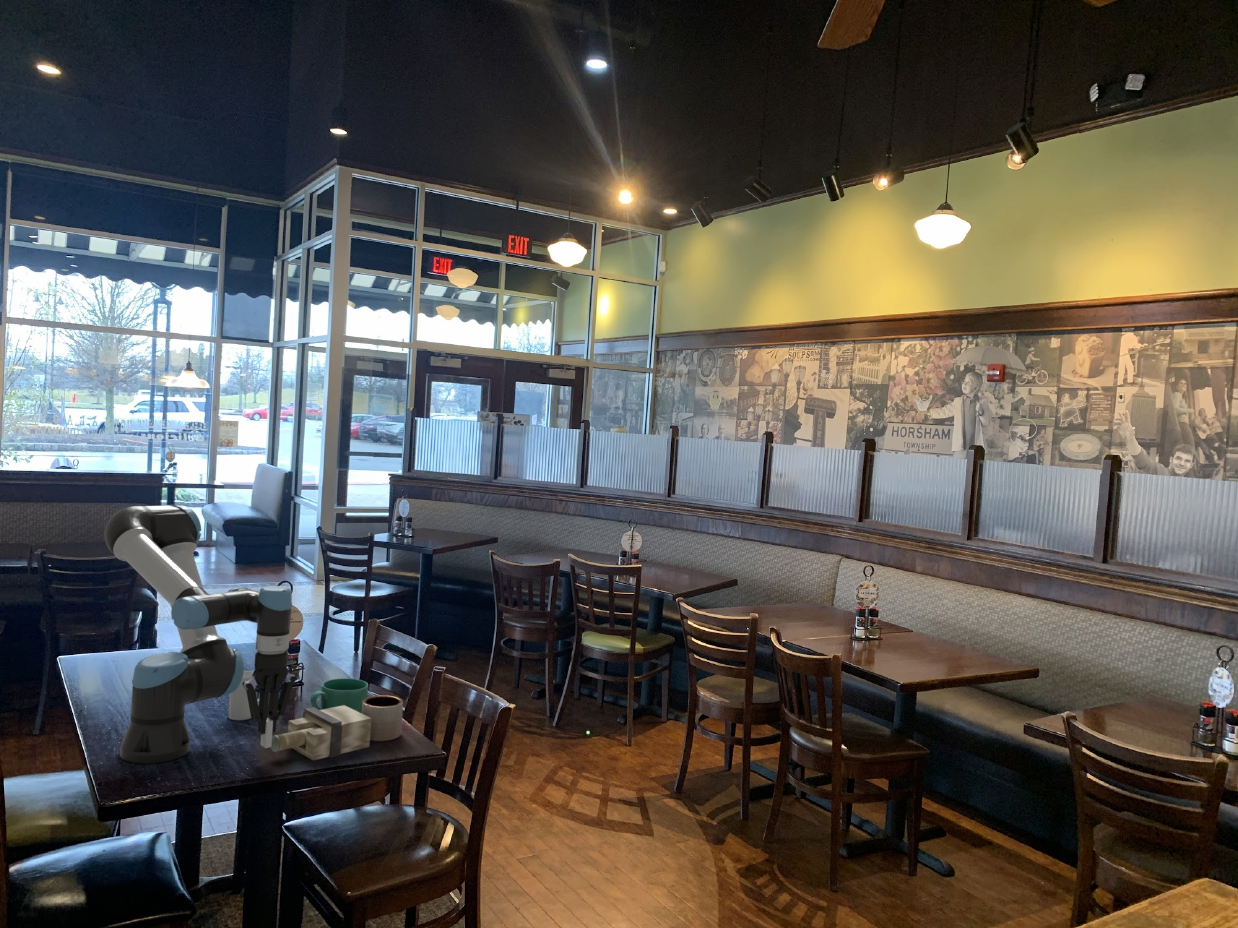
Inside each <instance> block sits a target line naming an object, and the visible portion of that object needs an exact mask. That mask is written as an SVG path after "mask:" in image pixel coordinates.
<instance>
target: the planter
mask: <svg viewBox="0 0 1238 928" xmlns="http://www.w3.org/2000/svg"><path fill="white" fill-rule="evenodd" d="M403 704H404V700H403V699H402V698H400V697H398V696H395V695H394V696H393V695H386V694H380V695H379V694H378V695H372V696H369V697H368V696H367V698H365V699H364V700H363V702H362V714H364V715H366V716H368V717H370V718H371V729H370V742H373V741H374V742H377V743H382V742H383V743H384V741H386V742H390V741H394V740H396V739H397V738H399V737H401V734H402V725H403V709H404V707H403V706H404V705H403Z"/></svg>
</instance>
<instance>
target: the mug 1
mask: <svg viewBox="0 0 1238 928" xmlns="http://www.w3.org/2000/svg"><path fill="white" fill-rule="evenodd" d="M253 673H254V671H251V670H244V674H243V677H242V681H241V683H240V685H239V686H238V688H237V689H236V690H235V691H233V692H232V693H229V694H228V695H229V696H228V715H227V716H228V718H229V719H230V720H233V721H246V720H250V719H252V717H251V714H250V709H249V703H248V698H247V692H246V689H245V688H244V686H243V685H242V683H243V682H244V681H248V680H250V679H251V678H252V675H253ZM256 685H257V683H256V682H255V688H254V689H255V690H256ZM257 702H258V706H259V698H258V699H257Z"/></svg>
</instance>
